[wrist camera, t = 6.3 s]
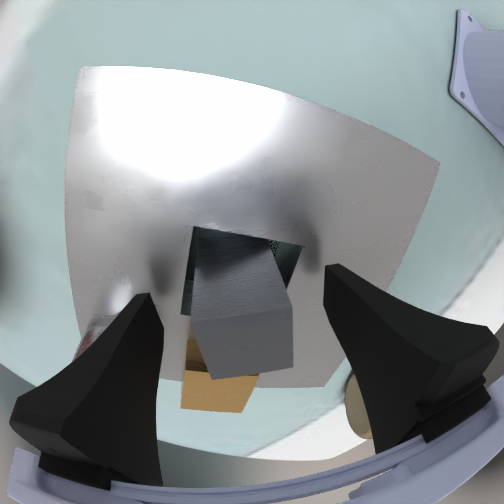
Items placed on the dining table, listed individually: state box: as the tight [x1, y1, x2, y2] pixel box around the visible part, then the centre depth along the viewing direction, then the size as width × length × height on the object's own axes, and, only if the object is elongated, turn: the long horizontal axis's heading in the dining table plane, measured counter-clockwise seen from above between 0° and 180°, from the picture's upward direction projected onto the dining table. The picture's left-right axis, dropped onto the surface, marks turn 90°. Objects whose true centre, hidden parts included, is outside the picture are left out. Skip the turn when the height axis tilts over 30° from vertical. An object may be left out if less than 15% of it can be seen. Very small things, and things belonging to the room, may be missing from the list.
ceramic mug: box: [345, 374, 373, 439], centre depth 20 cm, size 11×8×8 cm
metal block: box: [190, 227, 293, 380], centre depth 11 cm, size 3×3×7 cm
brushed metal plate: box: [65, 66, 440, 413], centre depth 12 cm, size 16×16×6 cm
